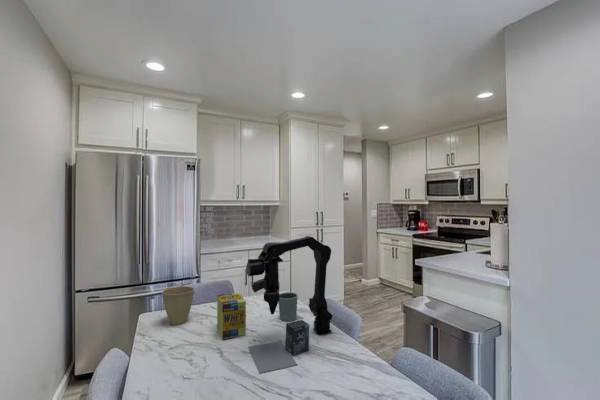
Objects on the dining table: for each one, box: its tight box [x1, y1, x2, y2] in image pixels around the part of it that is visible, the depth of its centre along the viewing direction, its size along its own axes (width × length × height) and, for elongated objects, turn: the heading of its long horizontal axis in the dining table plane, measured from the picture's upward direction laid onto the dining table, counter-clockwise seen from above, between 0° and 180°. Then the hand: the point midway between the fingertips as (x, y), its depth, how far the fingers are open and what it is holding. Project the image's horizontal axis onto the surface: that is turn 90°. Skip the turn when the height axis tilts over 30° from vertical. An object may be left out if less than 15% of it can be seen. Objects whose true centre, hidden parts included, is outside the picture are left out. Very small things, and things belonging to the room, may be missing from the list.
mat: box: [247, 340, 298, 375], centre depth 111 cm, size 14×20×1 cm
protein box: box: [216, 292, 247, 341], centre depth 133 cm, size 10×15×16 cm
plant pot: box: [161, 285, 195, 326], centre depth 145 cm, size 15×15×16 cm
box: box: [284, 319, 310, 356], centre depth 115 cm, size 8×6×11 cm
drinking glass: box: [277, 291, 298, 323], centre depth 148 cm, size 10×10×12 cm
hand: (272, 310), depth 122 cm, fingers open, 9 cm apart
